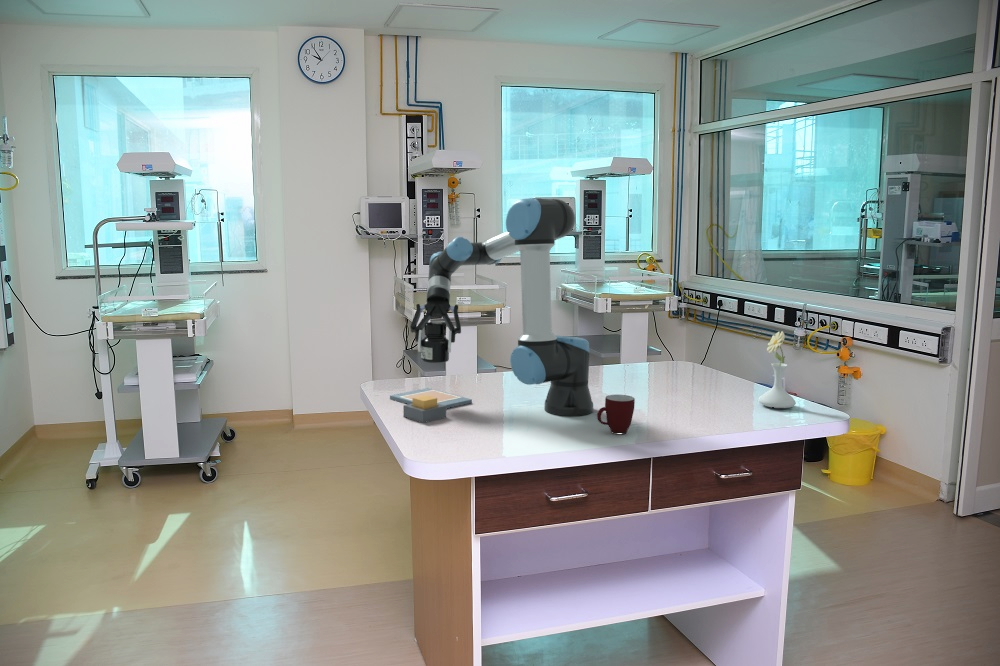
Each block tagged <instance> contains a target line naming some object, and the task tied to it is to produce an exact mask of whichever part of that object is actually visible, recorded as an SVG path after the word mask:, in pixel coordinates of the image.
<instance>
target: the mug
mask: <svg viewBox="0 0 1000 666" xmlns="http://www.w3.org/2000/svg"><path fill="white" fill-rule="evenodd" d="M604 398H605V402H604V407H601V408H600V409H599V410H598V411H597V414H596V415H597V416H596V419H597V421H598V422H599V423H600V424H601V425H604V426H608V428H609V430H610V432H611V433H612V432H613V433H612V434H614V433H625V434H626V433H627V432H628V430H629V428H630V427H631V424H632V419H633V415H634V411H635V399H636V398H635V397H633V396H632V395H627V394H609V395H606V396H605V397H604ZM604 412H605V417H606V422H605V421H602V417H601V416H602V414H603V413H604Z"/></svg>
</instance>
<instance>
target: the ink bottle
mask: <svg viewBox="0 0 1000 666" xmlns="http://www.w3.org/2000/svg"><path fill="white" fill-rule="evenodd" d="M446 333H447V324H446V322H443V321H442V322H441V321H431V322H430V321H428V322H427V323H425V327H424V338H422V341H421V353H420V355H421V356H420V360H421V361H422V362H424V363H430V364H438V363H439V364H441V363H447V362H449V361H450V352H448V341H449V338H447V337H446V335H447V334H446Z"/></svg>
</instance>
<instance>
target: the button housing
mask: <svg viewBox="0 0 1000 666" xmlns="http://www.w3.org/2000/svg"><path fill="white" fill-rule="evenodd" d="M406 417H407V419H409V418H410V419H409V420H412V419H413V421H415V420H417V421H416V422H419V421H420V422H419V423H422V422H424V423H427V422H426V421H429V422H432V420H433V421H436V419H437V420H440V418H441V419H445V418H447V409H446V406H445V405H441V404H438V403H437V406H436V407H431V408H427V409H421V408H418V407H414V406H413V404H403V418H406ZM444 417H445V418H444Z"/></svg>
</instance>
